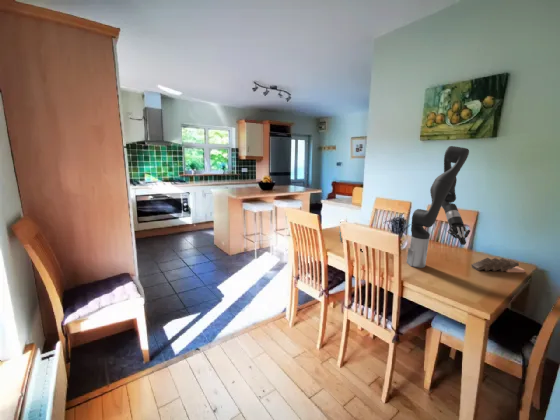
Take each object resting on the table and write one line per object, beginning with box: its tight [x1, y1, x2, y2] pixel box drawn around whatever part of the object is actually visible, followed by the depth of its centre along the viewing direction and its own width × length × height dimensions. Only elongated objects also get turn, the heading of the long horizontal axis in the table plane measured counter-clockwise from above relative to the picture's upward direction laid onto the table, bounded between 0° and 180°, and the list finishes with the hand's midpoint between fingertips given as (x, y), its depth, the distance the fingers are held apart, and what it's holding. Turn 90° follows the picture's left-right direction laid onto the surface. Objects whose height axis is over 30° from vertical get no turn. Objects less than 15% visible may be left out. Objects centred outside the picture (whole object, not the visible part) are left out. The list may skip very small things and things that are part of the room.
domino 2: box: [482, 257, 503, 272], centre depth 153 cm, size 2×5×10 cm
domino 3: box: [490, 257, 511, 272], centre depth 153 cm, size 2×5×10 cm
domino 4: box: [498, 258, 520, 272], centre depth 153 cm, size 2×5×10 cm
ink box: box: [339, 215, 348, 233], centre depth 214 cm, size 9×5×15 cm, turn 168°
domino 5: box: [504, 266, 526, 273], centre depth 154 cm, size 2×5×10 cm
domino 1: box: [471, 257, 495, 272], centre depth 153 cm, size 2×5×10 cm
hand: (463, 244), depth 156 cm, fingers closed
